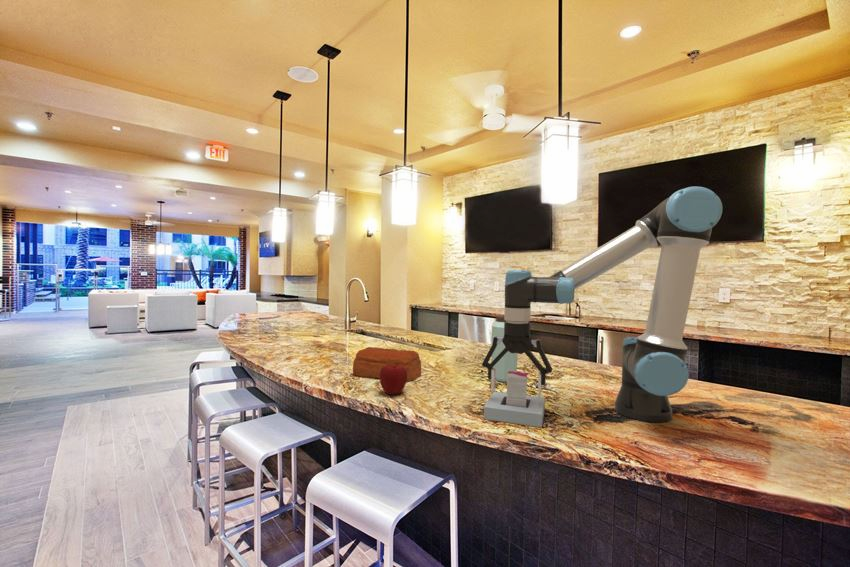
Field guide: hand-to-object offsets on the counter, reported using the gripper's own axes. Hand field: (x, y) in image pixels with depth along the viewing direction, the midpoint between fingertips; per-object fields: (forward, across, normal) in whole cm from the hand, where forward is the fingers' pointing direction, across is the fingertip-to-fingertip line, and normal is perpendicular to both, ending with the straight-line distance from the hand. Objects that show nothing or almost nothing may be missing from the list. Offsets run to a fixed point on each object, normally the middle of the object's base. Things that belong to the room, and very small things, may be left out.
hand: (515, 392), depth 115 cm
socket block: (+6, 0, 0) cm, 6 cm away
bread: (+7, +54, -25) cm, 61 cm away
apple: (+6, +42, -4) cm, 43 cm away
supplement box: (+6, 0, 0) cm, 6 cm away
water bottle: (+6, +9, -37) cm, 39 cm away
